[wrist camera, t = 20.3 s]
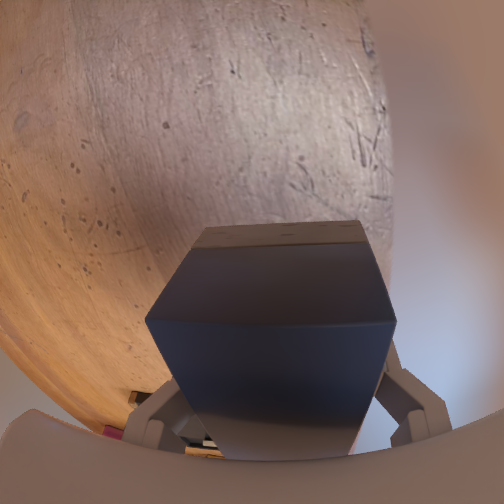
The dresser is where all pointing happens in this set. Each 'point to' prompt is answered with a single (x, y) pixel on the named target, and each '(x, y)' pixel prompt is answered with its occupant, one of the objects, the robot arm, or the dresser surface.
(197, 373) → the eraser
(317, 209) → the dresser surface
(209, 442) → the chalk tile
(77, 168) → the dresser surface
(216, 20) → the dresser surface
